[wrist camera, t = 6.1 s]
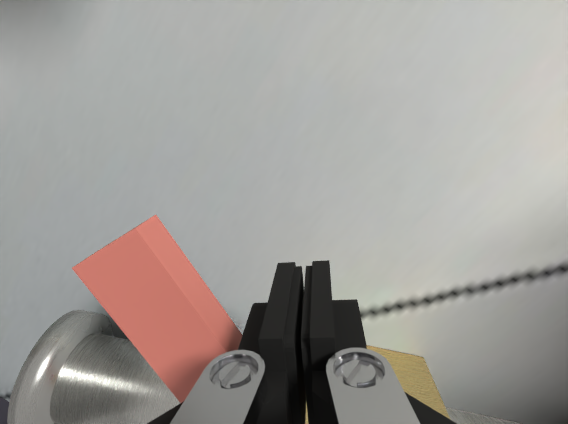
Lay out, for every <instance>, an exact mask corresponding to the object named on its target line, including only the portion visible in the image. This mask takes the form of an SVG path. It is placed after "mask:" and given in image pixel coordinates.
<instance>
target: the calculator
mask: <svg viewBox="0 0 568 424" xmlns="http://www.w3.org/2000/svg"><path fill="white" fill-rule="evenodd" d="M8 407H9V402H8V401H7V400H5V399H3V398H1V397H0V424H8V423H7V415H8Z"/></svg>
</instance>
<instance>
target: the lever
mask: <svg viewBox="0 0 568 424" xmlns="http://www.w3.org/2000/svg"><path fill="white" fill-rule="evenodd" d="M72 269H73V270H74V271H75V273H76V274H77V275H78V276H79V278H80V279H81V280H82V281H83V283H84V284H85V285H86V286H87V288H88V289H89V290H90V291H91V293H92V294H93V295H94V296H95V298H96V299H97V300H98V301H99V302H100V304H101V305H102V306H103V307H104V309H105V310H106V311H107V312H108V314H109V315H110V316H111V317H112V319H113V320H114V321H115V322H116V324H117V325H118V326H119V327H120V329H121V330H122V331H123V332H124V334H125V335H126V336H127V337H128V339H129V340H130V341H131V342H132V344H133V345H134V346H135V347H136V348H137V350H138V351H139V352H140V353H141V355H142V356H143V357H144V358H145V360H146V361H147V362H148V363H149V365H150V366H151V367H152V368H153V370H154V371H155V372H156V373H157V375H158V376H159V377H160V378H161V380H162V381H163V382H164V383H165V385H166V386H167V387H168V388H169V389H170V391H171V392H172V393H173V394H174V396H175V397H176V398H177V399H178V401H179V402H180V403H182V402H184V401H185V399H186V398H187V396H188V394H189V393H190V391H191V390H192V388H193V387H194V385H195V383H196V382H197V380H198V379H199V377H200V376H201V374H202V372H203V371H204V369H205V368H206V366H207V365H208V364H209V363H210V362H211V361H212V360H213V359H215V358H216V357H218V356H219V355H221V354H224V353H226V352H230V351H234V350H238V347H239V344H240V341H241V338H242V334H241V332H240V331H239V330H238V328H237V327H236V325H235V324H234V323H233V321H232V320H231V319H230V317H229V316H228V314H227V313H226V312H225V310H224V309H223V307H222V306H221V305H220V303H219V302H218V300H217V299H216V298H215V296H214V295H213V293H212V292H211V291H210V289H209V288H208V287H207V285H206V284H205V282H204V281H203V280H202V278H201V277H200V275H199V274H198V273H197V271H196V270H195V268H194V267H193V266H192V264H191V263H190V261H189V260H188V259H187V257H186V256H185V254H184V253H183V252H182V250H181V249H180V248H179V246H178V245H177V243H176V242H175V241H174V239H173V238H172V236H171V235H170V234H169V232H168V231H167V229H166V228H165V227H164V225H163V224H162V222H161V221H160V220H159V218H158V217H157V216H156V215H154V216H153V217H151V218H150V219H148V220H146V221H145V222H143V223H142V224H140V225H138V226H137V227H135V228H134V229H132V230H130V231H129V232H127V233H126V234H124V235H122V236H121V237H119V238H118V239H116V240H114V241H113V242H111V243H110V244H108V245H106V246H105V247H103V248H102V249H100V250H98V251H97V252H95V253H94V254H92V255H91V256H89V257H88V258H86V259H85V260H83V261H82V262H80V263H79V264H77V265H76V266H74V267H73V268H72ZM305 424H306V423H305Z"/></svg>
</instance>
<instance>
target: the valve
mask: <svg viewBox="0 0 568 424" xmlns="http://www.w3.org/2000/svg"><path fill="white" fill-rule="evenodd" d="M366 346H367V345H366ZM367 349H370V350H372V351H375V352H377V353H379V354H381V355H382V356H383V357H385V358H386V359H387V361H388V362H389V363H390V365H391V366H392V368H393V370H394V372H395V374H396V376H397V378H398V380H399V382H400V384H401V386H402V388H403V390H404V392H406V393H407V394H409V395H411V396H412V397H414V398H416V399H417V400H419V401H420V402H422V403H424V404H425V405H427V406H429V407H430V408H432V409H434V410H435V411H437V412H439V413H440V414H442V415H444V416H445V417H447V418H449V419H450V420H452V421H453V422H455V423H457V424H523V423H518V422H513V421H508V420H504V419H499V418H494V417H490V416H485V415H480V414H475V413H471V412H466V411H461V410H457V409H452V408H447V407H445V406H444V403H443V401H442V399H441V397H440V394H439V392H438V390H437V388H436V385H435V383H434V381H433V378H432V376H431V374H430V372H429V369H428V367H427V365H426V362H425V360H424V358H423V357H420V356H415V355H410V354H405V353H401V352H396V351H391V350H386V349H381V348H377V347H372V346H367ZM179 404H180V402H179V401H178V399H177V398H176V397H175V396H174V394H173V393H172V392H171V391H170V389H169V388H168V387H167V386H166V385H165V383H164V382H163V381H162V380H161V378H160V377H159V376H158V375H157V373H156V372H155V371H154V370H153V368H152V367H151V366H150V365H149V363H148V362H147V361H146V360H145V358H144V357H143V356H142V355H141V353H140V352H139V351H138V350H137V348H136V347H135V346H134V345H133V344H132V342H131V341H130V340H127V339H122V338H117V337H113V330H112V325H111V322H110V320H109V318H108V317H107V316H105V315H103V314H98V313H94V312H89V311H84V310H74V311H71V312H69V313H67V314H65V315H63V316H62V317H60V318H59V319H58V320H57V321H55V322H54V323H53V324H52V325H51V326H50V327H49V328H48V329H47V330H46V331H45V333H44V334H43V335H42V336H41V338H40V339H39V340H38V342H37V343H36V344H35V346H34V347H33V349H32V350H31V352H30V354H29V355H28V357H27V359H26V361H25V363H24V364H23V366H22V368H21V371H20V373H19V375H18V377H17V380H16V382H15V385H14V388H13V391H12V394H11V398H10V402H9V407H8V415H7V423H8V424H147V423H149V422H150V421H152V420H154V419H155V418H157V417H159V416H160V415H162V414H164V413H165V412H167V411H169V410H170V409H172V408H174V407H175V406H177V405H179ZM305 423H306V424H308V413H307V402H306V420H305Z"/></svg>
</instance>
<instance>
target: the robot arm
mask: <svg viewBox="0 0 568 424" xmlns="http://www.w3.org/2000/svg"><path fill="white" fill-rule="evenodd" d="M306 402H307V413H308V424H457V423H455V422H453V421H452V420H450V419H449V418H447V417H445V416H444V415H442V414H440V413H439V412H437V411H435V410H434V409H432V408H430V407H429V406H427V405H425V404H424V403H422V402H420V401H419V400H417V399H416V398H414V397H412V396H411V395H409V394H407V393H406V392H404V390H403V388H402V386H401V384H400V382H399V380H398V378H397V376H396V374H395V372H394V370H393V368H392V366H391V365H390V363H389V362H388V361H387V359H386V358H385V357H383V356H382V355H381V354H379V353H377V352H375V351H372V350H370V349H367V346H366V341H365V336H364V331H363V326H362V321H361V316H360V311H359V306H358V302H357V300H332V293H331V279H330V265H329V261H313V262H312V266H306V274H305V287H304V286H303V274H302V266H298V267H296V265H295V262H289V263H278V265H277V269H276V273H275V277H274V280H273V284H272V288H271V292H270V296H269V300H268V303H254V304H253V306H252V308H251V311H250V314H249V317H248V320H247V323H246V326H245V329H244V332H243V335H242V338H241V341H240V344H239V347H238V350H234V351H230V352H226V353H224V354H221V355H219V356H218V357H216V358H215V359H213V360H212V361H211V362H210V363H209V364H208V365H207V366H206V368H205V369H204V371H203V372H202V374H201V376H200V377H199V379H198V380H197V382H196V383H195V385H194V387H193V388H192V390H191V391H190V393H189V394H188V396H187V398H186V399H185V401H184V402H182V403H180V404H179V405H177V406H175V407H174V408H172V409H170V410H169V411H167V412H165V413H164V414H162V415H160V416H159V417H157V418H155V419H154V420H152V421H150V422H149V423H147V424H305V420H306Z"/></svg>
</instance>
